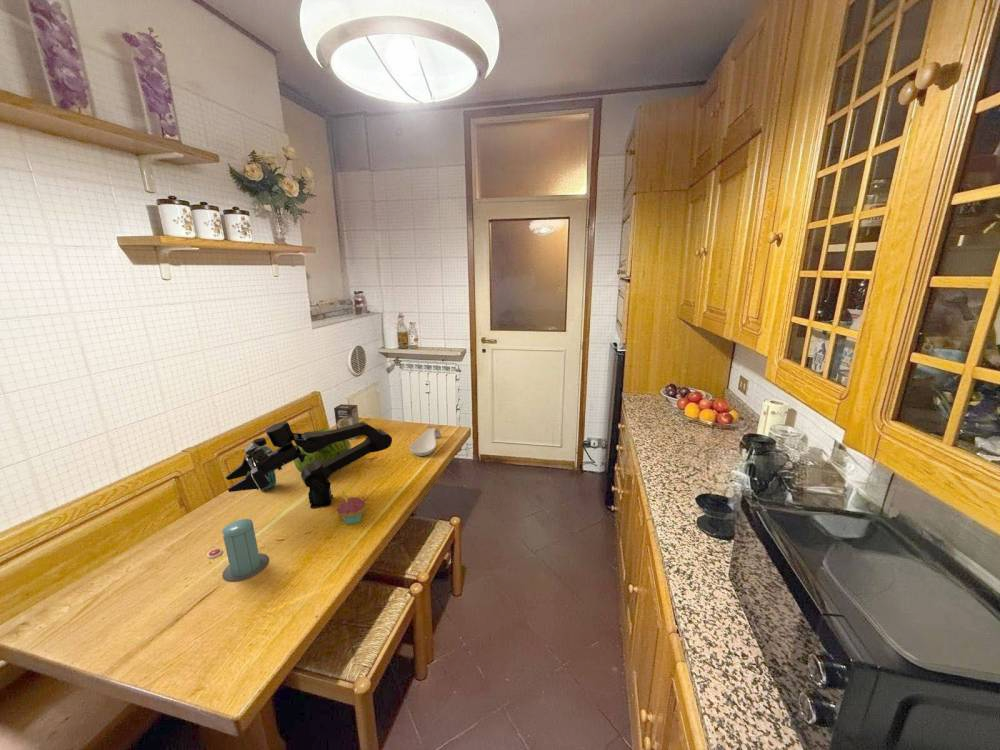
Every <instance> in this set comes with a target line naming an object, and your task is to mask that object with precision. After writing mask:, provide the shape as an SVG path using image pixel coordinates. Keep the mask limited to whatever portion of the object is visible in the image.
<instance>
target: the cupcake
mask: <svg viewBox="0 0 1000 750" xmlns="http://www.w3.org/2000/svg"><path fill="white" fill-rule="evenodd" d="M341 489H342V490H341V492H342V494H343V498H344V500H343V501H341V502H340V504H339V505H338V507H337V510H336V511H337V513H338V515H339V516H340V517H342V519H343V520H344V522H345V524H347V525H353V524H356V523H358V522H359V521H360V520H361V517H362V514H363V513H364V512H365V510H366V508H367V506H366V504H367V503H366V502H365V500H364V499H362V498H360V497H349V498H348V497H347V494H346V492H345V489H344V488H343V487H342V488H341Z"/></svg>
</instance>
